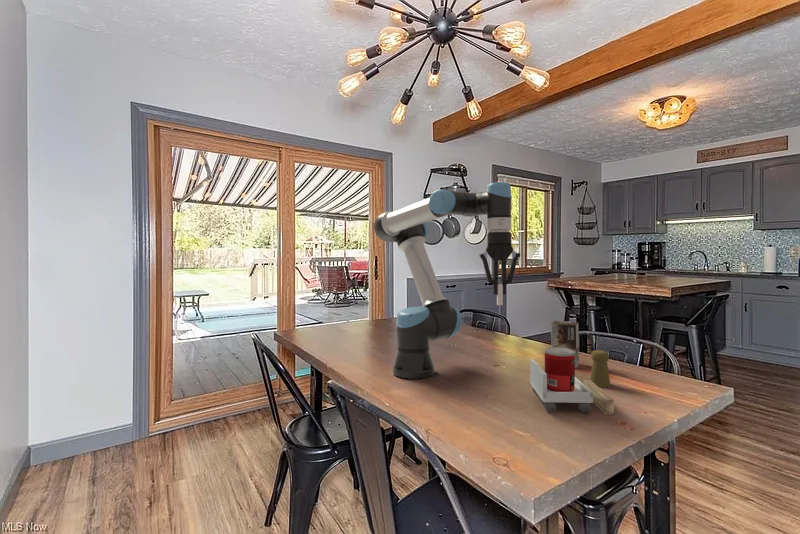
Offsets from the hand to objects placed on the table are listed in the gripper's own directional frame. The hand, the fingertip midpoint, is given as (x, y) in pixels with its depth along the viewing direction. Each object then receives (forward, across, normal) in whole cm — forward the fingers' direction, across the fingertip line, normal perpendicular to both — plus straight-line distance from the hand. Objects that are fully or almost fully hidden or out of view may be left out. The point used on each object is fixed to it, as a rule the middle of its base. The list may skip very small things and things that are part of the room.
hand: (499, 304), depth 128 cm
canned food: (+23, +15, -14) cm, 30 cm away
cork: (+27, +32, +2) cm, 42 cm away
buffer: (+26, +25, -14) cm, 39 cm away
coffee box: (+27, +28, +24) cm, 46 cm away
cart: (+26, +14, -14) cm, 33 cm away
